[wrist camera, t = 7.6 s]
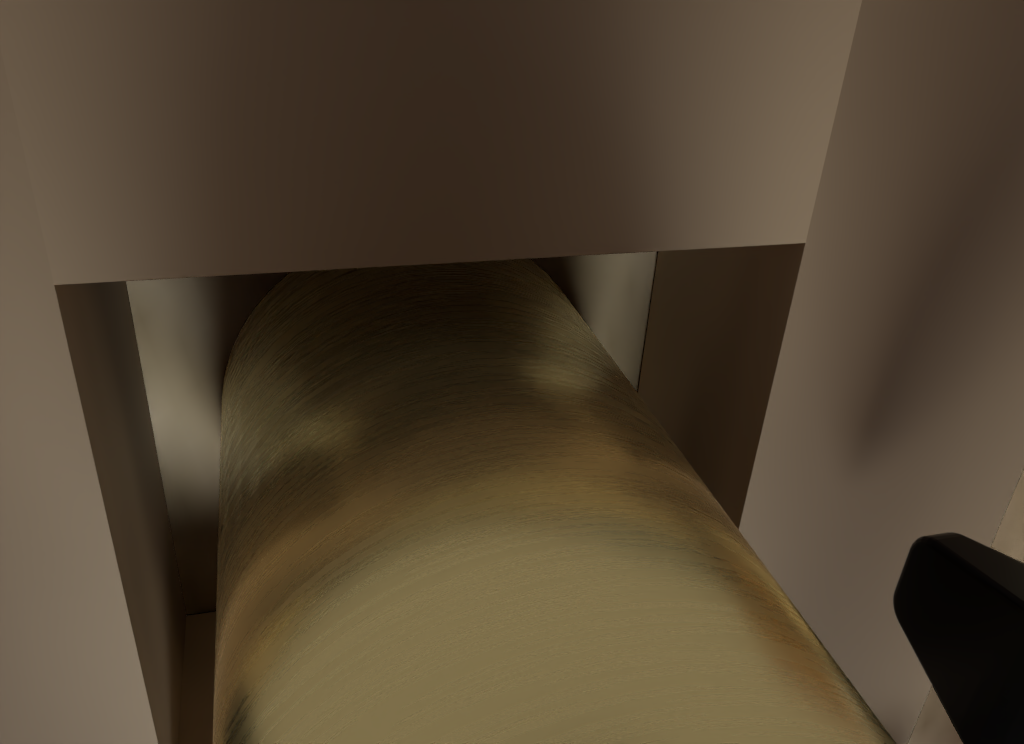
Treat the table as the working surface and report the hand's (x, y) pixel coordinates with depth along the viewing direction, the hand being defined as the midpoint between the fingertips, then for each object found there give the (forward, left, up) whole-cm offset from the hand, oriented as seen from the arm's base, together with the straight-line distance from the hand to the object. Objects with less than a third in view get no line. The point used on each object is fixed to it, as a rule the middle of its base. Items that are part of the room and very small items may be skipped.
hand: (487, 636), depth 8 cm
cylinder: (0, 0, -4) cm, 4 cm away
